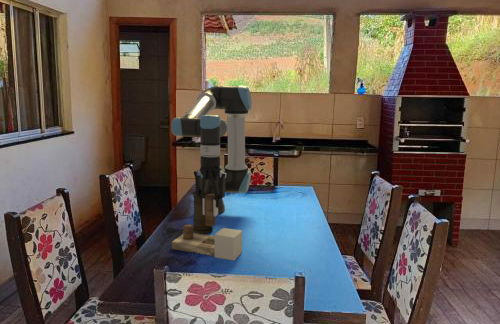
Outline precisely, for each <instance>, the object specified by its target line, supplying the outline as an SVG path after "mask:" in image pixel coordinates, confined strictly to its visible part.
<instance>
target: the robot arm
mask: <svg viewBox="0 0 500 324" xmlns="http://www.w3.org/2000/svg"><path fill="white" fill-rule="evenodd" d="M252 104H253V103H252V94H251V91H250V89H249V87H248V86H246V85H214V86H211V87H208V88H207V89H205V90H204V91H201V93H199V95H198V96H197V97H196V102H194V104H193V105H192V106H191V107H190V108H189V110H188V111H187V112H186V113H185V114H184V115H183V117H174V118H173V119H172V120H171V125H170V127H171V133H172V134H173V135H174V136H175V137H182V138H183V137H188V138H189V137H191V138H192V137H194V138H195V137H197V138H198V137H199V138H200V145H199V146H200V150H199V151H200V155H201V156H200V158H199V159H200V168H199V169H196V170H195V171H193V175H194V180H195V181H194V183H195V191H196V196H199V197H200V198H201V206H203V215H205V195H206V191H207V190H209V191H211V192H212V194H215V199H214V200H213V216H215V217H217V216H218V215H219V214H223V213H224V212H225V210H226V205H225V202H224V199H223V198H225V196H226V193H232V194H233V193H235V194H245V193H247V192H248V190H249V188H250V184H251V178H252V177H251V176H252V171H251V170H249V168H248V165H247V164H246V162H245V161H246V159H245V158H246V116H247V115H248V114H249V111H251V110H252ZM214 110H224V114H225V115H226V116H227V121H226V120H225V119H223V118H221V117H220V115H217V114H209V113H210V112H212V111H214ZM226 134H227V164H226V165H225V167H224V168H222V166H221V156H220V155H221V137H224V135H226Z"/></svg>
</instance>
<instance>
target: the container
mask: <svg viewBox="0 0 500 324" xmlns="http://www.w3.org/2000/svg"><path fill="white" fill-rule="evenodd" d="M206 194H212V192H211V191H209V190H207V191H206ZM192 196H193V224H192V225H193V233H198V234H204V235H208V234H210V233H212V232H213V230H214V229H213V226H206V225H205V215H203V206H201V198H200V197H199V196H196V190H195V191H193V192H192Z"/></svg>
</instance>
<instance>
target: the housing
mask: <svg viewBox="0 0 500 324" xmlns="http://www.w3.org/2000/svg"><path fill="white" fill-rule="evenodd" d="M214 236H215V255H214V258H217V259H223V260H227V261H228V260H229V261H235V260H236V259H237V258H238V257H239V256H240V255H241V254H242V253H243V230H241V229H234V228H227V227H222V228H221V229H220V230H219V231H217V232H216V233H215V234H214Z"/></svg>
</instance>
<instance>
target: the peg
mask: <svg viewBox="0 0 500 324" xmlns="http://www.w3.org/2000/svg"><path fill="white" fill-rule="evenodd" d="M214 199H215V194H206V195H205V225H206V226H212V227H214V226H216V216H213V200H214Z"/></svg>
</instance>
